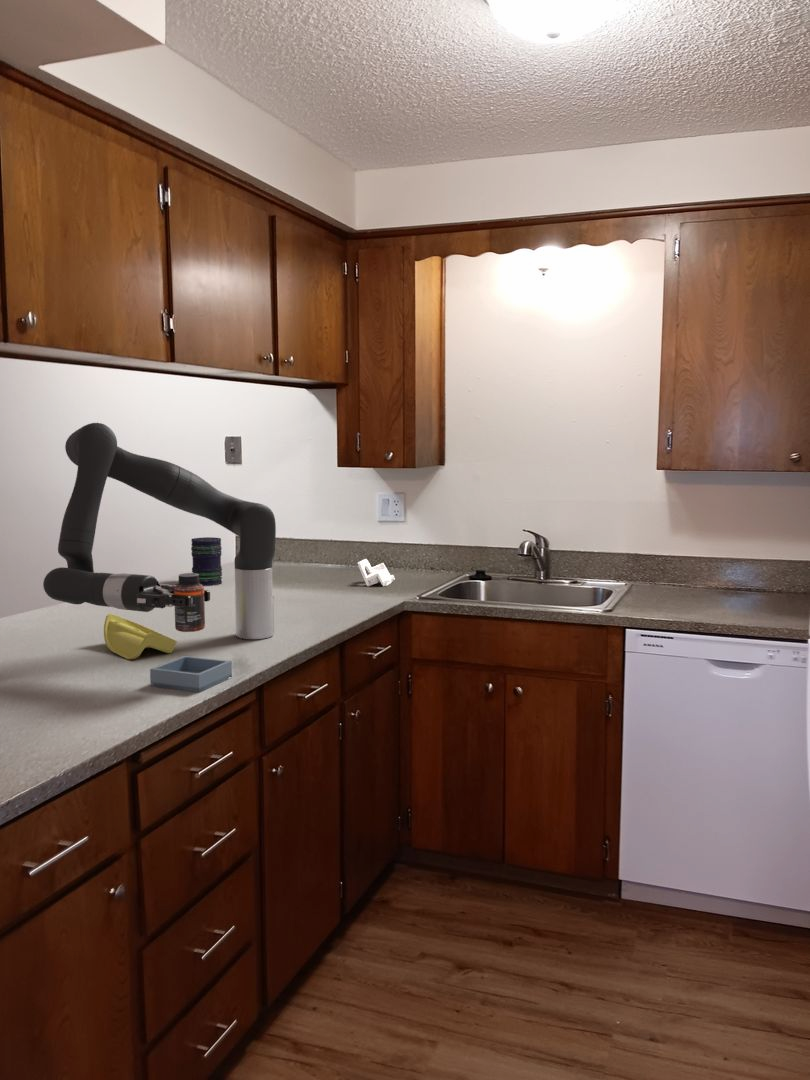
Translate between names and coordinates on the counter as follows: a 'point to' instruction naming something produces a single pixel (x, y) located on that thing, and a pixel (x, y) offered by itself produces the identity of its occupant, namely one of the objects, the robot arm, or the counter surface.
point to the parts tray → (190, 673)
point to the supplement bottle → (195, 614)
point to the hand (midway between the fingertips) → (199, 598)
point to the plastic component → (133, 638)
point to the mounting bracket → (375, 573)
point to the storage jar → (207, 560)
